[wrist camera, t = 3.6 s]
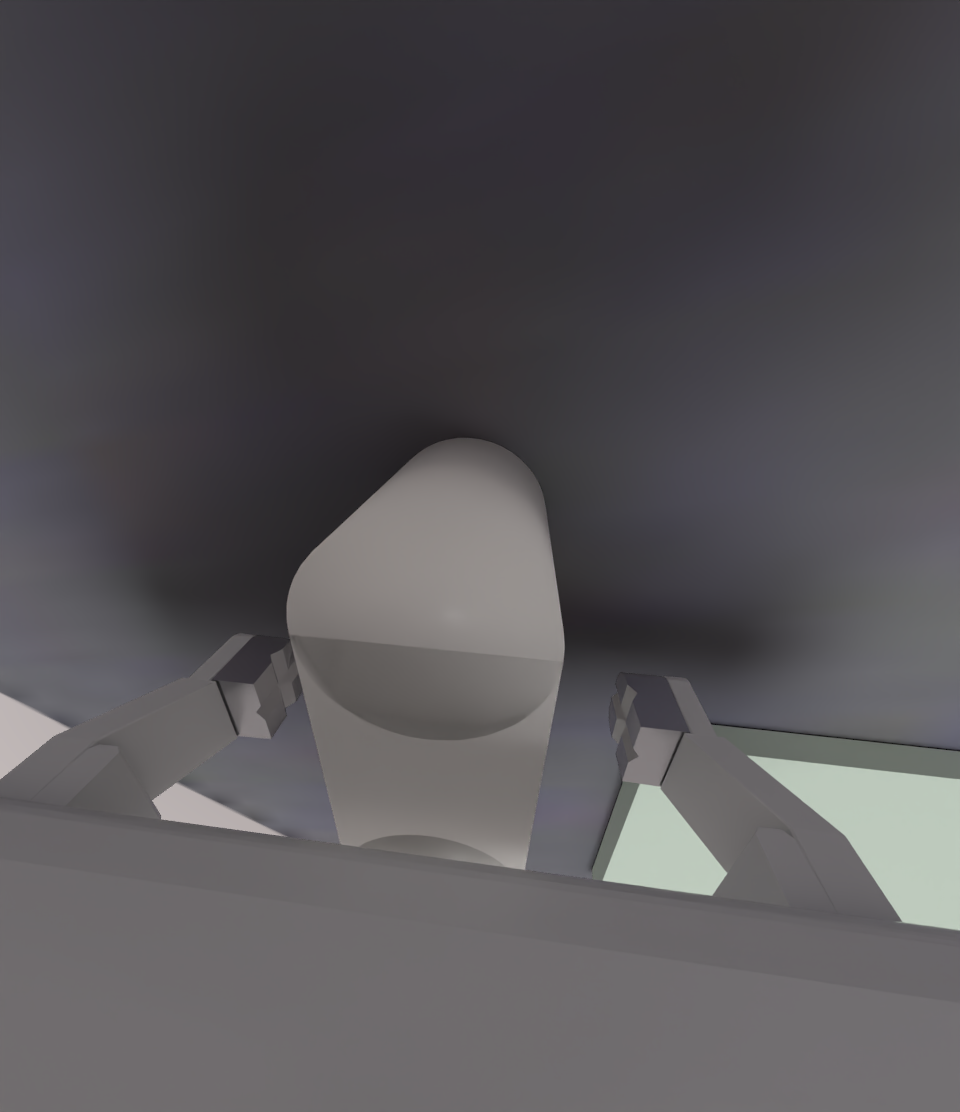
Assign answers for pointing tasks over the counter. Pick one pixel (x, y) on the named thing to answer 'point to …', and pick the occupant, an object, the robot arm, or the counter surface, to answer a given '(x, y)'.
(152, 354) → the counter surface
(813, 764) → the green mat
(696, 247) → the counter surface
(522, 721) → the connector
